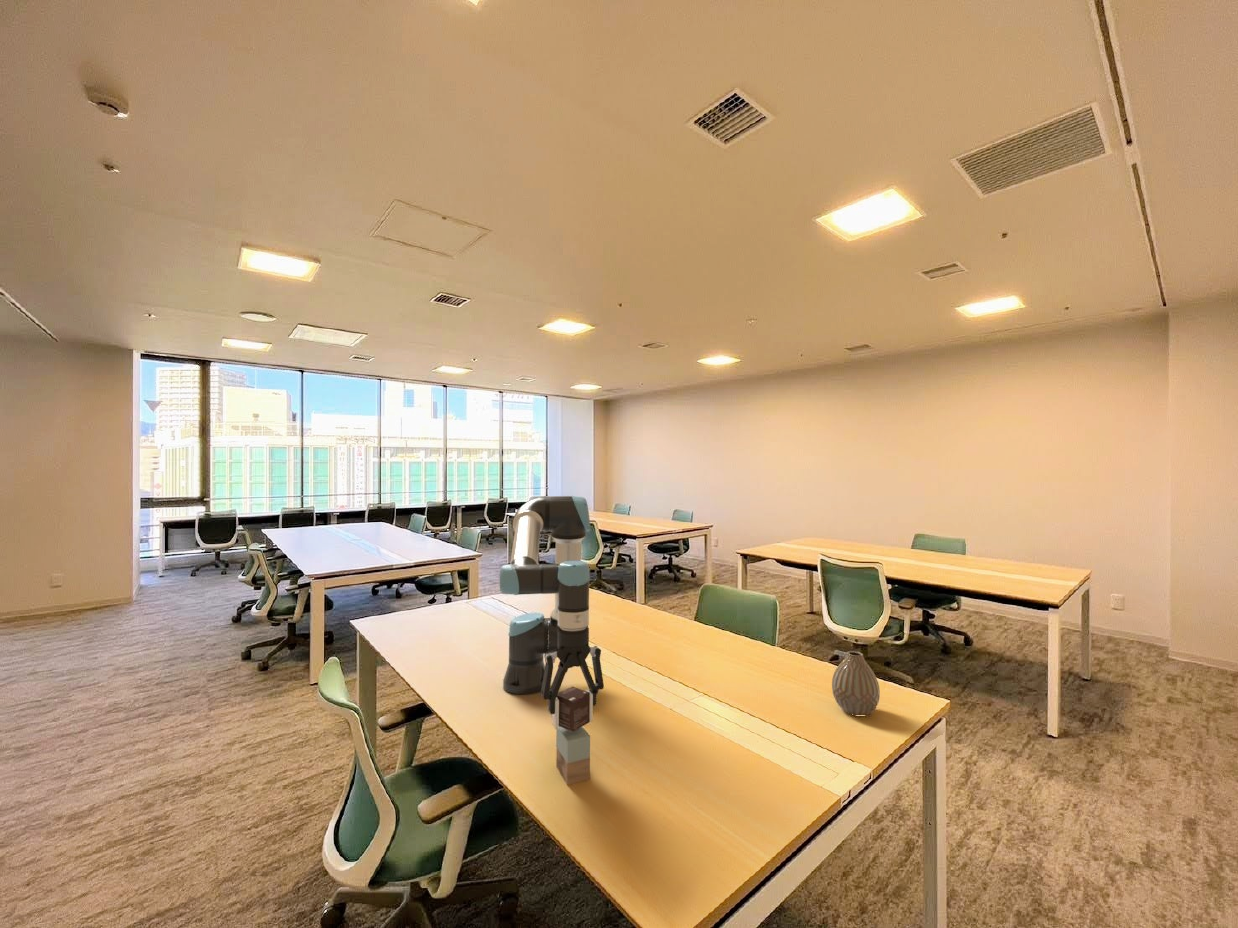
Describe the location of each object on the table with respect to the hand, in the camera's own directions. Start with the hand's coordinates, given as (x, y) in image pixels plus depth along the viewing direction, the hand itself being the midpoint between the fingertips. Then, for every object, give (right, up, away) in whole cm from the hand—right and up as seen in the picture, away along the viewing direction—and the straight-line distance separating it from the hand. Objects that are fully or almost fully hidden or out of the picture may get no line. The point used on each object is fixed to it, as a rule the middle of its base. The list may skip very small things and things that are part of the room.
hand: (572, 722), depth 118 cm
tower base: (0, -12, 0) cm, 12 cm away
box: (0, -1, 0) cm, 1 cm away
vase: (+83, -14, +32) cm, 90 cm away
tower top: (0, -7, 0) cm, 7 cm away
